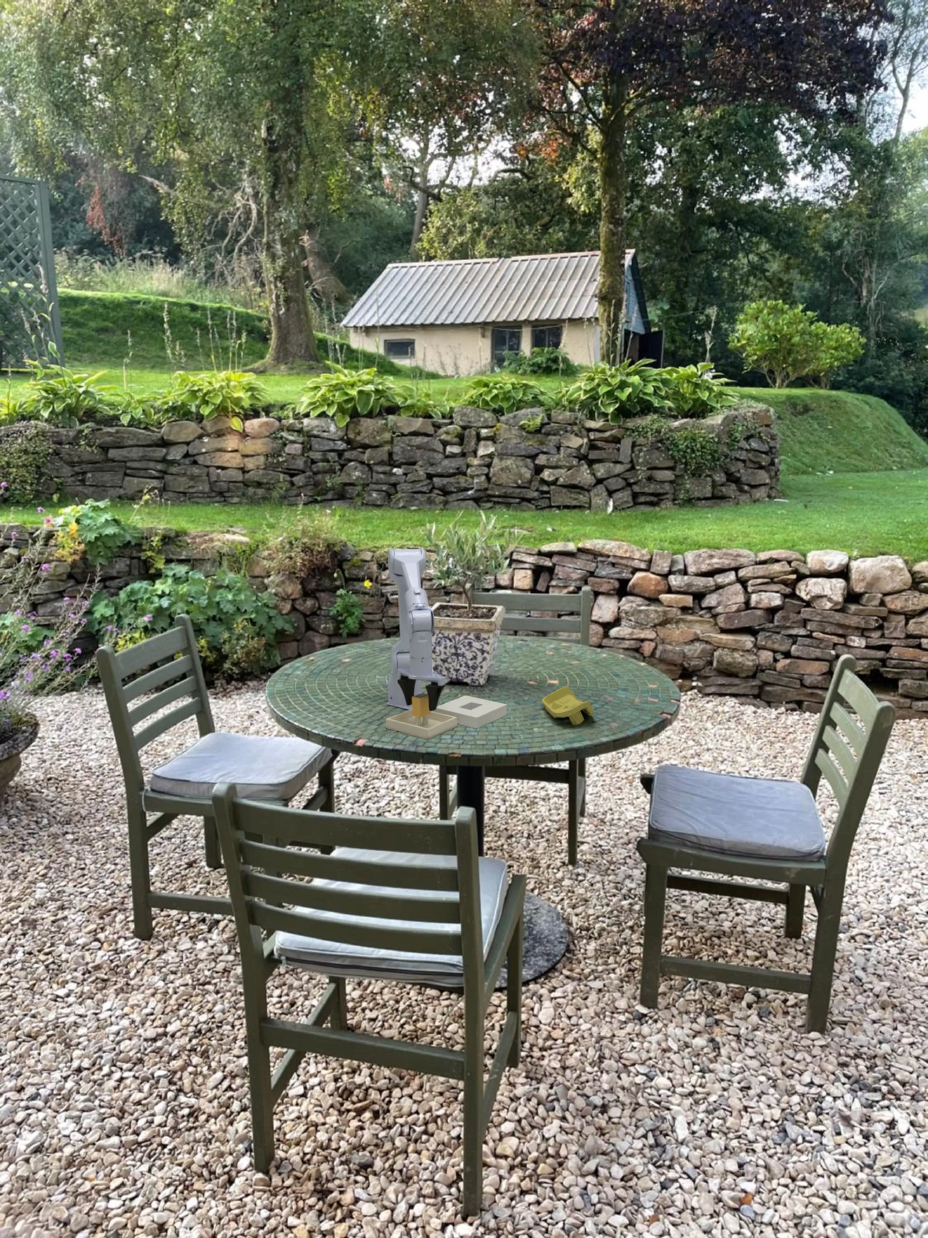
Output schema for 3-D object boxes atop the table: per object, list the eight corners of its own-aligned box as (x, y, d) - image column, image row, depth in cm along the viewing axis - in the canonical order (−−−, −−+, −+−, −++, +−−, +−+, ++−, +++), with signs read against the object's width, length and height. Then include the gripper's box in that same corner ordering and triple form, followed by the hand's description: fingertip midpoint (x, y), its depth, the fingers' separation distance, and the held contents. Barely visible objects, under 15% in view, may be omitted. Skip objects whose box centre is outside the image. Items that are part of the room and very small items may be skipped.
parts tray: (385, 728, 214) (385, 718, 213) (415, 716, 223) (415, 707, 223) (428, 739, 206) (427, 729, 205) (456, 726, 215) (456, 717, 215)
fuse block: (434, 718, 222) (434, 707, 221) (465, 705, 233) (465, 695, 232) (477, 728, 214) (477, 717, 213) (506, 715, 225) (507, 704, 224)
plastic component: (539, 699, 231) (570, 682, 232) (550, 722, 233) (581, 705, 233) (558, 716, 212) (592, 698, 213) (570, 741, 213) (603, 723, 214)
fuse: (412, 726, 213) (411, 696, 212) (423, 722, 217) (422, 692, 215) (420, 728, 212) (419, 698, 210) (430, 724, 215) (430, 694, 214)
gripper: (389, 655, 212) (389, 706, 214) (433, 663, 203) (433, 716, 206) (406, 650, 217) (407, 699, 220) (450, 658, 209) (450, 709, 211)
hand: (421, 707), depth 213 cm, fingers open, 7 cm apart
